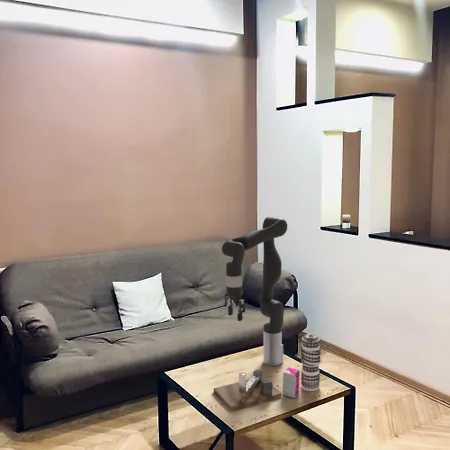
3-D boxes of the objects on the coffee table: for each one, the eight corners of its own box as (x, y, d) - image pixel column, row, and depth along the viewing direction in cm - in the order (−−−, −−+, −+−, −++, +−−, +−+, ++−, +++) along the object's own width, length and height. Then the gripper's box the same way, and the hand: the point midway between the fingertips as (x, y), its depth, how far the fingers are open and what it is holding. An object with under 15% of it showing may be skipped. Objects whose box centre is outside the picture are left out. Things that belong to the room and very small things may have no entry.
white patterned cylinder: (307, 393, 224) (308, 341, 220) (296, 384, 233) (296, 333, 228) (324, 388, 228) (325, 337, 224) (312, 380, 236) (313, 330, 232)
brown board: (261, 380, 237) (261, 364, 236) (281, 397, 221) (281, 380, 220) (213, 392, 226) (213, 376, 225) (231, 411, 210) (231, 393, 209)
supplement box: (294, 399, 219) (294, 375, 217) (282, 395, 222) (282, 371, 221) (299, 393, 224) (299, 369, 222) (287, 390, 227) (287, 366, 225)
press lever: (255, 378, 234) (255, 354, 232) (264, 379, 232) (264, 356, 230) (236, 399, 215) (236, 374, 213) (245, 402, 213) (245, 376, 211)
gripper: (249, 286, 223) (250, 320, 226) (233, 279, 235) (234, 311, 238) (235, 289, 219) (236, 324, 222) (219, 281, 232) (220, 314, 235)
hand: (235, 317), depth 230 cm, fingers open, 8 cm apart
